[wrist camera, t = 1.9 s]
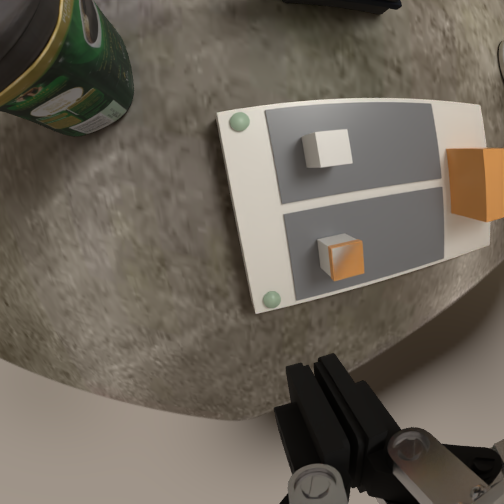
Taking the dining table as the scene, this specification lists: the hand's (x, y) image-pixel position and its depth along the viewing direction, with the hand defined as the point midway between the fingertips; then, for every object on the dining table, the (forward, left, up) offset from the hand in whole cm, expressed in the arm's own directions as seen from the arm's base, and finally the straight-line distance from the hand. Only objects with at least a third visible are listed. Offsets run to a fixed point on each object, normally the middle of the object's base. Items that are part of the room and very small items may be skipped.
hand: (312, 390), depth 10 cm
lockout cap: (-24, -4, -15) cm, 28 cm away
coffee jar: (+10, -18, -17) cm, 27 cm away
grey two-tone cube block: (-7, 0, -14) cm, 16 cm away
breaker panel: (-14, -4, -17) cm, 22 cm away
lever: (-7, -8, -14) cm, 18 cm away
